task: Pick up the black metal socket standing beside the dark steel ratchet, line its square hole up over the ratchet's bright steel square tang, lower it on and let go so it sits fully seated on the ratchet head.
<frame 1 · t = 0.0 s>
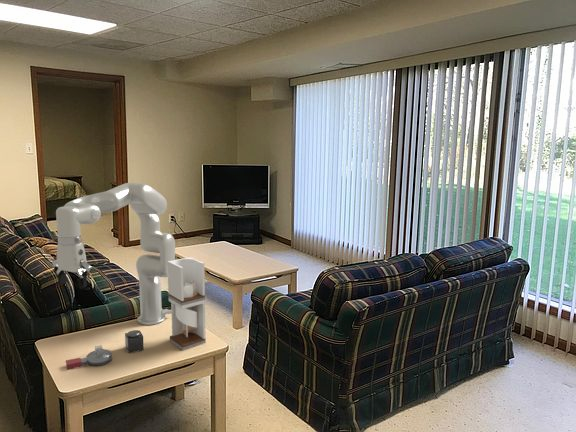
hand: (72, 285, 169), 31 cm above the table, tool pointing down, fingers open, 9 cm apart
ratchet: (99, 360, 177), on the table
two-tier white tower: (187, 342, 194), on the table
socket: (134, 348, 188), on the table
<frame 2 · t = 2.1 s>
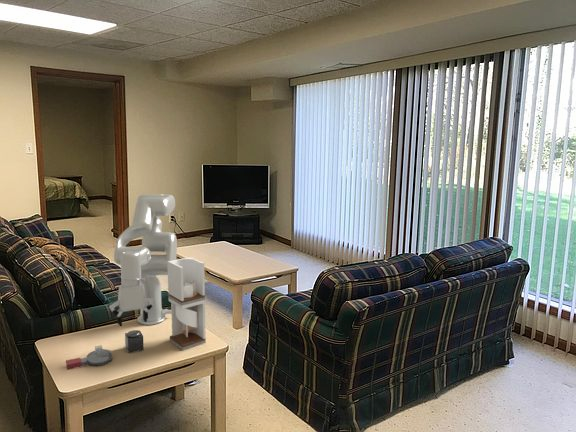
hand: (132, 323, 185), 11 cm above the table, tool pointing down, fingers open, 9 cm apart
nothing on the table moved.
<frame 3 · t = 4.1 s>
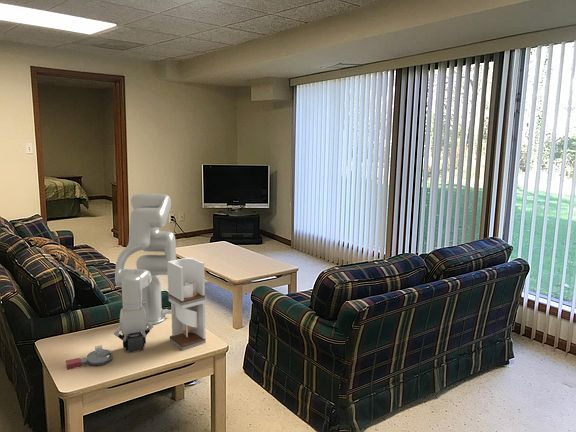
hand: (134, 346, 187), 1 cm above the table, tool pointing down, fingers closed on socket, 6 cm apart
socket: (134, 348, 188), on the table, touching gripper
everything else where it was.
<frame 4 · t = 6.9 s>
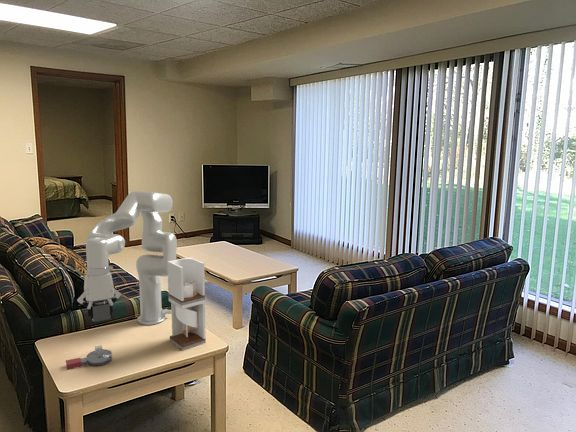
hand: (100, 315, 175), 18 cm above the table, tool pointing down, fingers closed on socket, 6 cm apart
socket: (100, 317, 175), point 17 cm above the table, touching gripper
everything else where it was.
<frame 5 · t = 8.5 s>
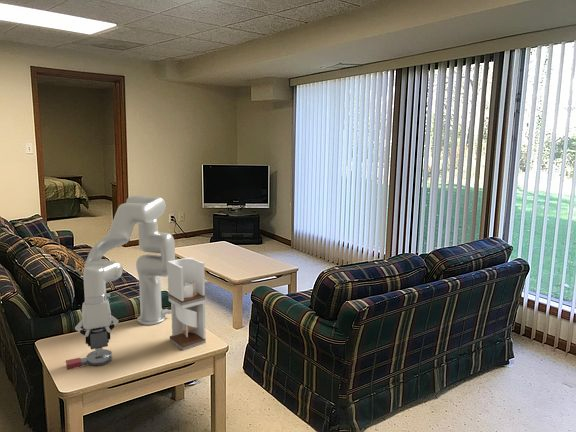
hand: (98, 342, 176), 7 cm above the table, tool pointing down, fingers closed on socket, 6 cm apart
socket: (98, 344, 176), point 7 cm above the table, touching gripper
everything else where it was.
when the fingers open (5 cm above the table, at t = 9.9 s): socket drops 1 cm, resting on ratchet.
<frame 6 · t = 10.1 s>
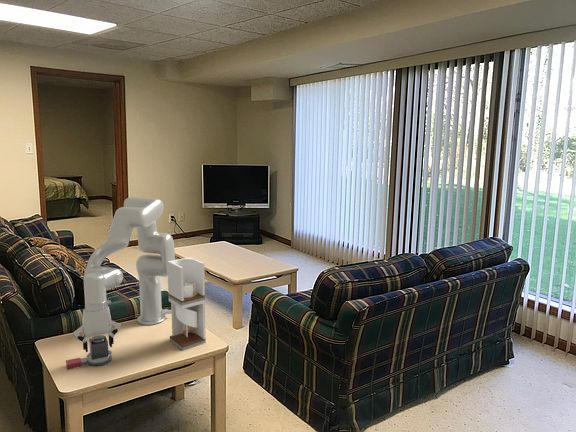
hand: (98, 348, 176), 5 cm above the table, tool pointing down, fingers open, 8 cm apart
socket: (99, 354, 177), point 2 cm above the table, touching ratchet
everything else where it was.
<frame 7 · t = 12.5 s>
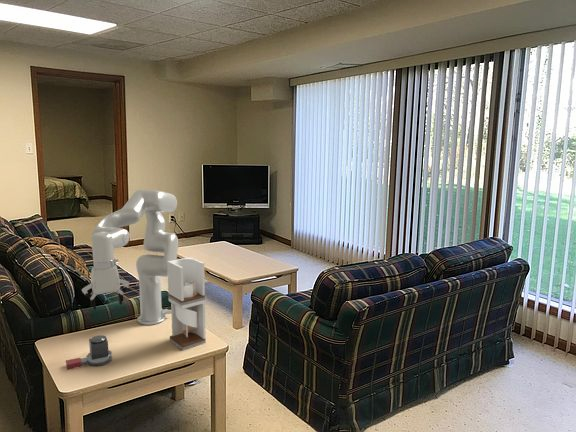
hand: (107, 305, 180), 20 cm above the table, tool pointing down, fingers open, 9 cm apart
nothing on the table moved.
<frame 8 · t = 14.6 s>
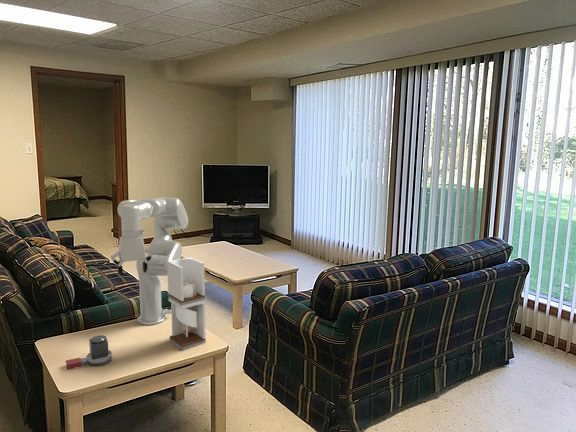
hand: (133, 273, 194), 28 cm above the table, tool pointing down, fingers open, 9 cm apart
nothing on the table moved.
at the end: socket 0.1 cm off-centre on the ratchet, point 2.4 cm above the ratchet's base; socket tilted 0°; the gripper is holding nothing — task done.
